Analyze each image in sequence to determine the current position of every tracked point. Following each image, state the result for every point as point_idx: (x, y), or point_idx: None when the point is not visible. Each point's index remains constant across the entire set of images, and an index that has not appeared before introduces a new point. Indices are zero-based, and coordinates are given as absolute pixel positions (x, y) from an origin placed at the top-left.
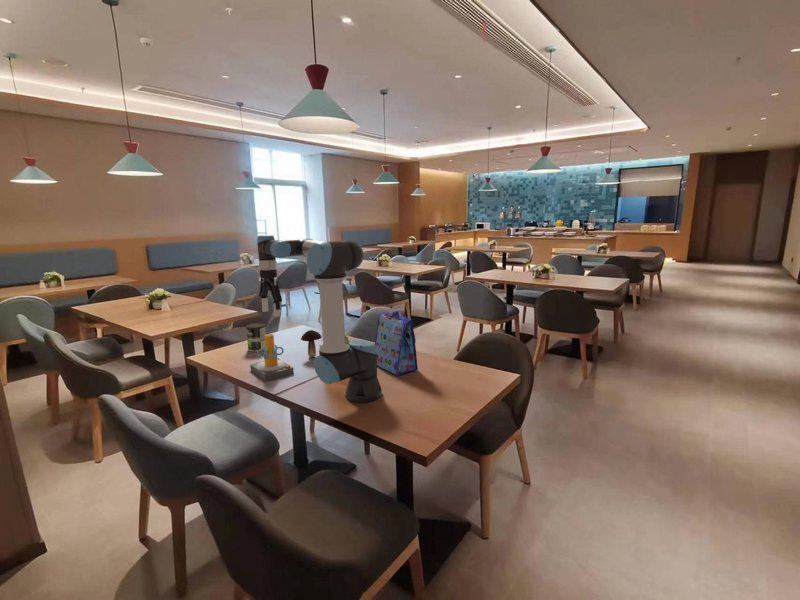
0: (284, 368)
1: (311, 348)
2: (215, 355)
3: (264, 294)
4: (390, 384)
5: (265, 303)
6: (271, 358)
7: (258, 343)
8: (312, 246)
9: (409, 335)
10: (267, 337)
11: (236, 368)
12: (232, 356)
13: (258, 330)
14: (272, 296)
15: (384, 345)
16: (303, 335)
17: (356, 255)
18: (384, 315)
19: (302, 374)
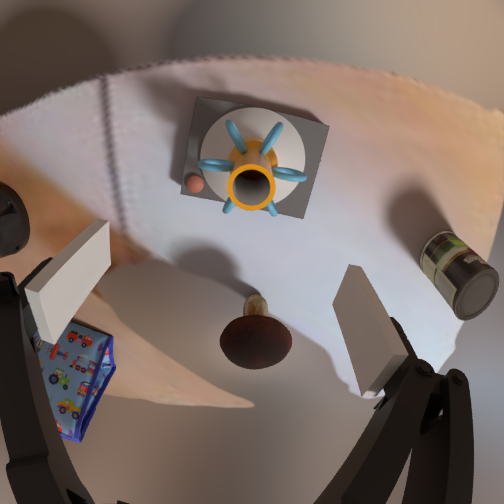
0: (197, 172)
1: (247, 313)
2: (489, 159)
3: (380, 417)
4: (21, 277)
5: (360, 336)
6: (230, 153)
7: (437, 256)
8: None
9: None
10: (237, 166)
11: (374, 111)
12: (456, 176)
13: (456, 282)
14: (19, 358)
15: (57, 362)
16: (266, 333)
17: None
18: (60, 429)
19: (161, 201)
